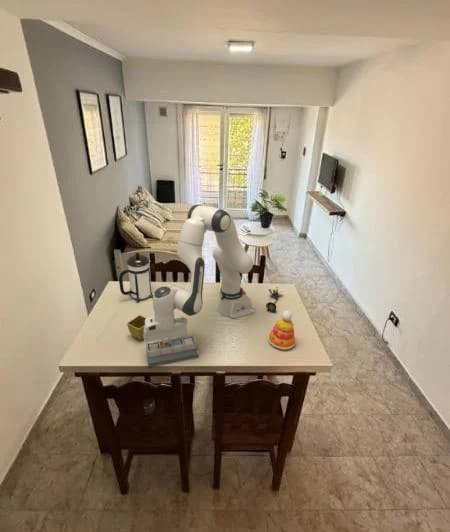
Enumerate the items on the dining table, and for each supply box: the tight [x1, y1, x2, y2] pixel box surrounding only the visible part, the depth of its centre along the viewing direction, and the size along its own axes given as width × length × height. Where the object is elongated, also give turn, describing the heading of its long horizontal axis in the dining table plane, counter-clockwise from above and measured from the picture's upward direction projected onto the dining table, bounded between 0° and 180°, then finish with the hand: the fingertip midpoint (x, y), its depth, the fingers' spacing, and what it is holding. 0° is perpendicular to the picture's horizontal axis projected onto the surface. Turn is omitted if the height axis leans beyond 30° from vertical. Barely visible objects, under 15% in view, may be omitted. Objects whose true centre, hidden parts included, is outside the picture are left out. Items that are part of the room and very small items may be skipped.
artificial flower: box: [265, 286, 283, 314], centre depth 189 cm, size 9×22×10 cm, turn 157°
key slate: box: [172, 340, 182, 346], centre depth 147 cm, size 4×4×4 cm
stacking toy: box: [267, 310, 297, 351], centre depth 153 cm, size 14×14×20 cm
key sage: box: [149, 344, 158, 351], centre depth 144 cm, size 4×4×4 cm
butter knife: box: [95, 325, 110, 341], centre depth 163 cm, size 1×24×3 cm
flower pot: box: [126, 314, 148, 341], centre depth 155 cm, size 9×9×9 cm
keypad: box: [145, 334, 199, 368], centre depth 146 cm, size 23×14×6 cm, turn 108°
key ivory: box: [184, 338, 193, 344], centre depth 148 cm, size 4×4×4 cm
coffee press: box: [118, 252, 154, 304], centre depth 182 cm, size 17×16×30 cm
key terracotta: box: [161, 344, 170, 349], centre depth 146 cm, size 4×4×4 cm
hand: (166, 343), depth 144 cm, fingers closed
